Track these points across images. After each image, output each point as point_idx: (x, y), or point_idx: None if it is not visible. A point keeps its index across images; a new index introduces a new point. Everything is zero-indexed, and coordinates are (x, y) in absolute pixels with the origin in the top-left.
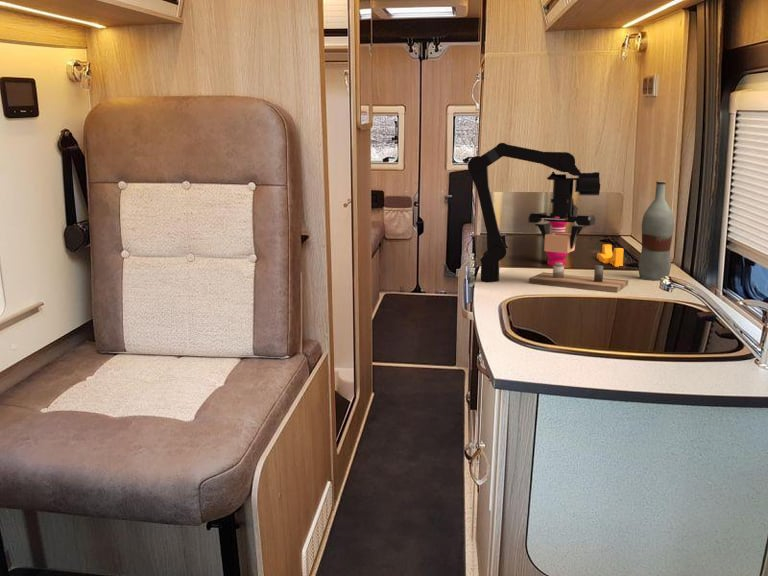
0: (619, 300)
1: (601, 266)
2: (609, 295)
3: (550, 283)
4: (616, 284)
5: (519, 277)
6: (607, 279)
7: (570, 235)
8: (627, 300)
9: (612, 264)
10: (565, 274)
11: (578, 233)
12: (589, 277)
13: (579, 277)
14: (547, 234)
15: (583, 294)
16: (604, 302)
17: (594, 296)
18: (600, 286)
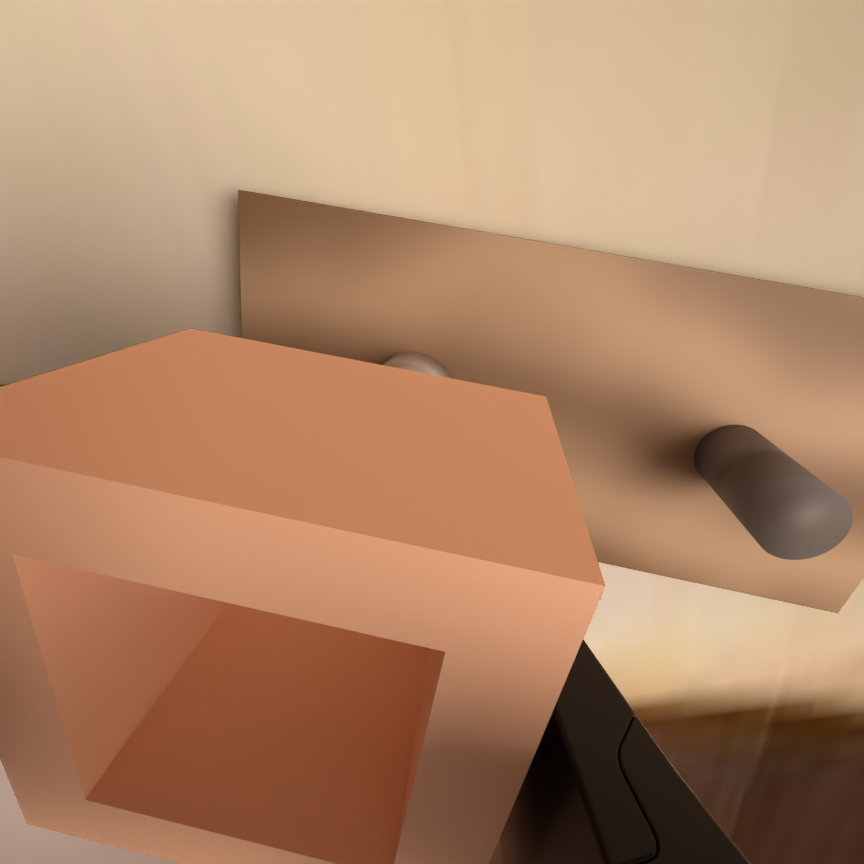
0: (779, 739)
1: (825, 538)
2: (746, 660)
3: None
4: (856, 535)
5: (124, 291)
6: (830, 354)
7: (487, 858)
8: (824, 734)
9: None
10: (446, 232)
11: (699, 861)
12: (668, 310)
13: (578, 341)
14: (40, 798)
15: (602, 663)
16: (695, 774)
17: (658, 690)
18: (720, 584)
